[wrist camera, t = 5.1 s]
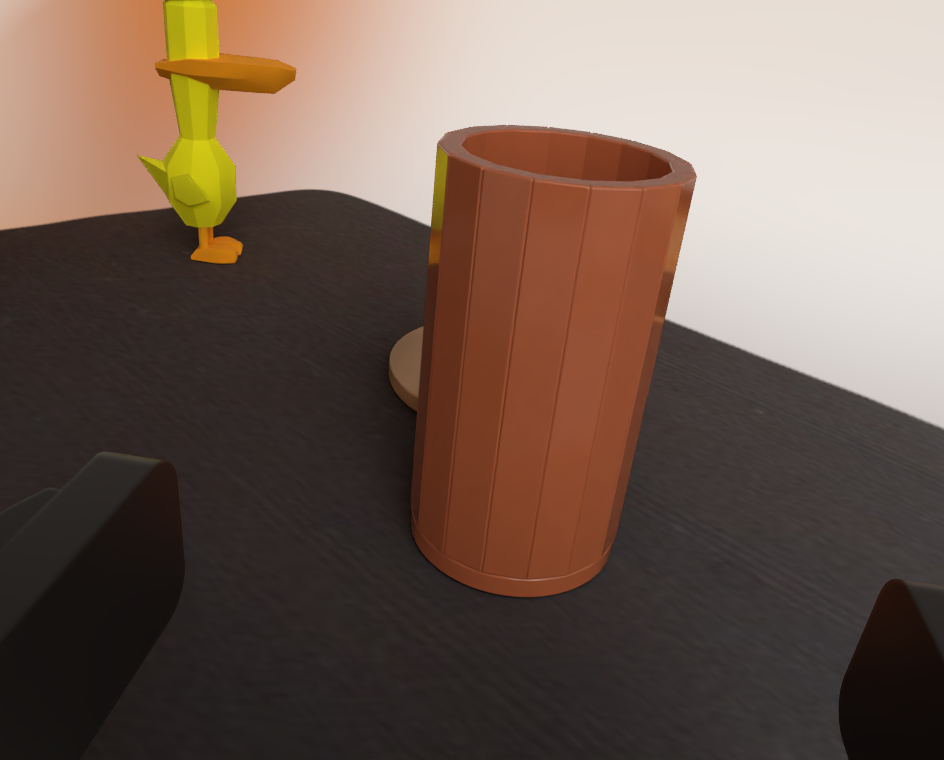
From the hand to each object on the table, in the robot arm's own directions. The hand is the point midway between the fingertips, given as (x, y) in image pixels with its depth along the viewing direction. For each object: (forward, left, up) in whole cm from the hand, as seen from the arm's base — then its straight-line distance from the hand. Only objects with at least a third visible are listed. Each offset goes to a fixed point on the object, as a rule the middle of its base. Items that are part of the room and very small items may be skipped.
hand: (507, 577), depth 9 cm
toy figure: (-15, +27, -7) cm, 32 cm away
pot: (0, +11, -7) cm, 13 cm away
